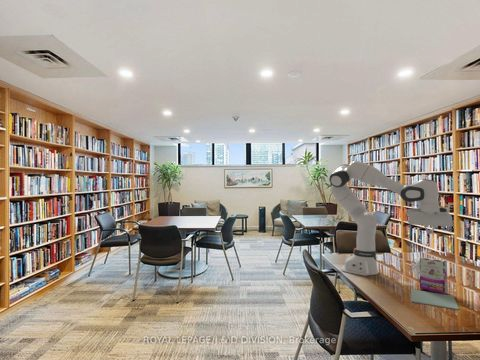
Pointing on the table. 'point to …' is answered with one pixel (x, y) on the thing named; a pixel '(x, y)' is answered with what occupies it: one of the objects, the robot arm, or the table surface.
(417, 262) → the white figurine
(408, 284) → the table surface
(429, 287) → the candy bar box
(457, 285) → the table surface
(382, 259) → the table surface
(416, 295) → the desk pad
